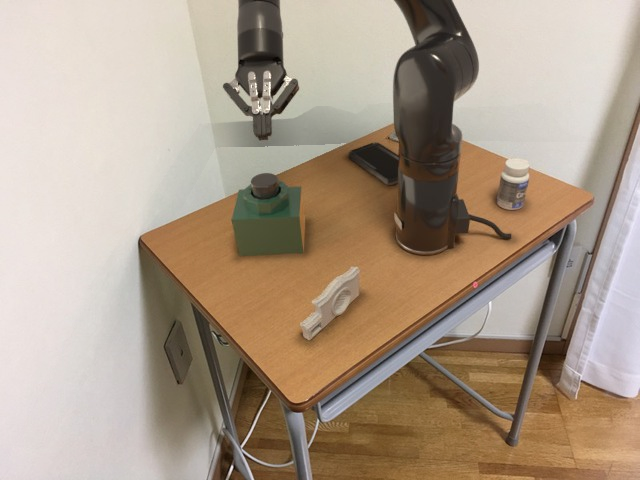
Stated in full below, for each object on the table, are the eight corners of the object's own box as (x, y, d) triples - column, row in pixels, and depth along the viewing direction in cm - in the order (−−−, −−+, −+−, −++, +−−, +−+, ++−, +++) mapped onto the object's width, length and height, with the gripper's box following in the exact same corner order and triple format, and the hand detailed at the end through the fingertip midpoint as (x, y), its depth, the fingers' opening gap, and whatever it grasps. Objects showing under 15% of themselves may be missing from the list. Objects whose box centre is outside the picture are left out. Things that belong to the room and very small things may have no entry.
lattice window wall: (309, 343, 72) (306, 314, 68) (300, 337, 73) (296, 308, 69) (362, 294, 79) (361, 265, 75) (352, 289, 80) (351, 261, 76)
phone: (376, 141, 114) (420, 169, 104) (376, 145, 115) (420, 173, 105) (346, 152, 111) (388, 181, 101) (346, 156, 112) (388, 186, 102)
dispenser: (305, 221, 95) (300, 174, 88) (303, 253, 88) (298, 204, 81) (245, 224, 95) (236, 178, 89) (239, 256, 88) (228, 208, 82)
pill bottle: (517, 213, 92) (526, 173, 87) (492, 206, 94) (498, 165, 89) (527, 201, 95) (536, 160, 90) (502, 193, 97) (509, 154, 92)
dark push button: (280, 185, 87) (278, 172, 86) (278, 199, 84) (276, 186, 82) (254, 186, 87) (252, 173, 86) (251, 201, 84) (249, 187, 82)
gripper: (215, 29, 83) (216, 133, 81) (297, 23, 82) (301, 128, 80) (226, 51, 90) (228, 147, 88) (301, 46, 90) (305, 143, 88)
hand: (262, 138), depth 84 cm, fingers closed
